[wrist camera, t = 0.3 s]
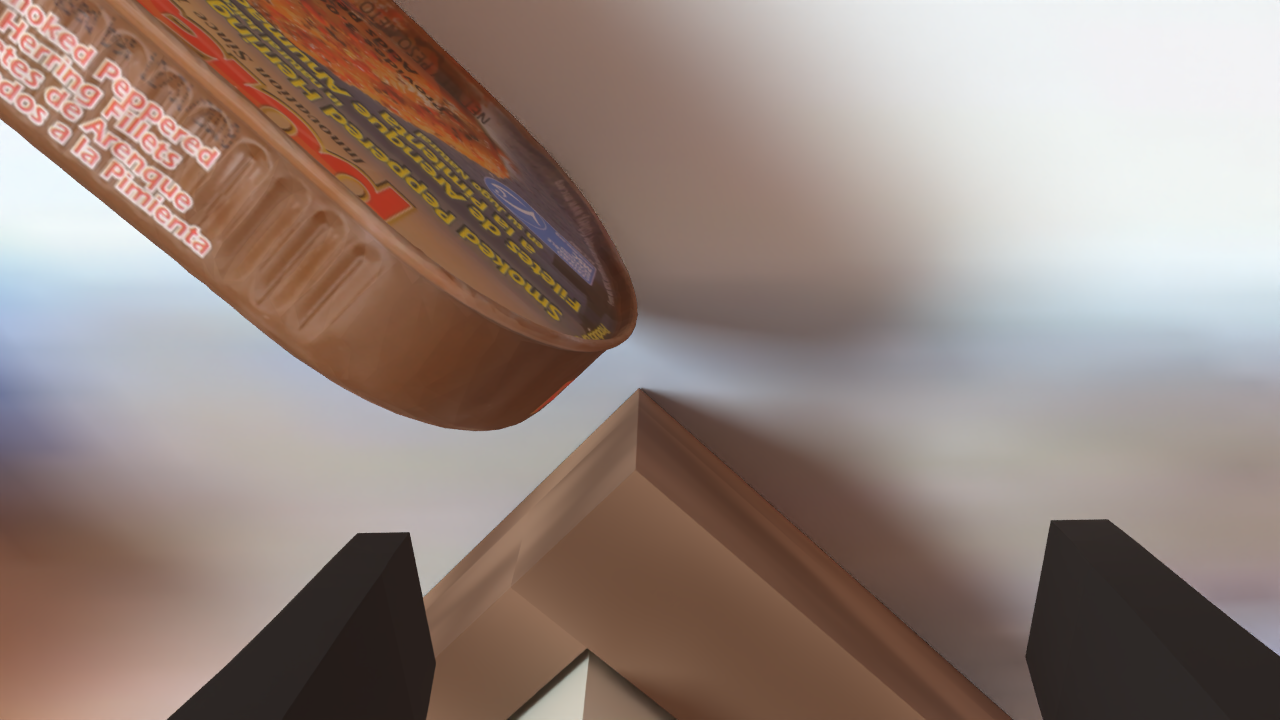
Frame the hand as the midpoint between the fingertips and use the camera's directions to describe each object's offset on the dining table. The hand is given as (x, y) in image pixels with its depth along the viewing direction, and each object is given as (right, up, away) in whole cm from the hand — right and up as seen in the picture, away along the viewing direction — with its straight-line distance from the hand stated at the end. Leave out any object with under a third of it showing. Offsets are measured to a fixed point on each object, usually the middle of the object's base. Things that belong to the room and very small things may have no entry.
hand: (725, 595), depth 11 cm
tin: (-7, +9, +8) cm, 14 cm away
